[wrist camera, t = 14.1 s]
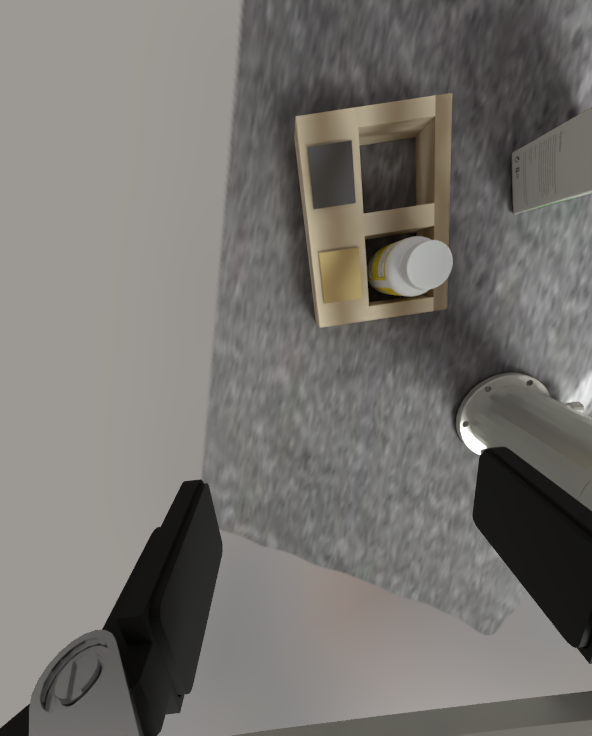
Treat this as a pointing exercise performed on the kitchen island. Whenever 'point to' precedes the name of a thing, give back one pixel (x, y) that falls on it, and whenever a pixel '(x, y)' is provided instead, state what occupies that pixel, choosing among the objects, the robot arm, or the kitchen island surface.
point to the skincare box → (554, 166)
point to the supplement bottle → (410, 266)
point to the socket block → (345, 203)
